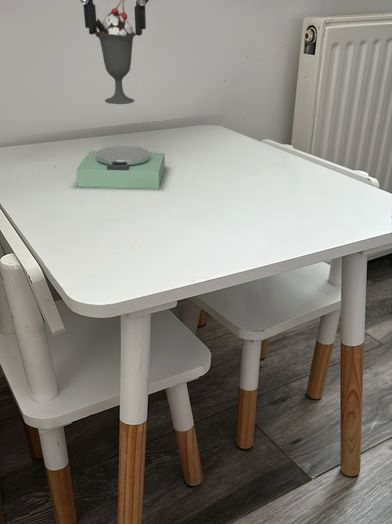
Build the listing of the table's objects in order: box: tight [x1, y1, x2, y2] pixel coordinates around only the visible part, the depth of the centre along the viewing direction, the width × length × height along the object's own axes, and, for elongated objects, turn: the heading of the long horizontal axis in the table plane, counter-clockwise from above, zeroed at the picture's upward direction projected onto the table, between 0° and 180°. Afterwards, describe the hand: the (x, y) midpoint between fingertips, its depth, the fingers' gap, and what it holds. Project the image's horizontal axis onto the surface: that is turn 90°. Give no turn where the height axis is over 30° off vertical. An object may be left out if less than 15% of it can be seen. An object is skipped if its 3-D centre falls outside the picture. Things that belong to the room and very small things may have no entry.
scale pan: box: [96, 145, 150, 165], centre depth 99 cm, size 10×10×1 cm
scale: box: [76, 150, 166, 190], centre depth 100 cm, size 14×12×4 cm
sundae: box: [94, 0, 137, 105], centre depth 90 cm, size 7×7×15 cm
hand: (116, 33), depth 89 cm, fingers closed on sundae, 6 cm apart
